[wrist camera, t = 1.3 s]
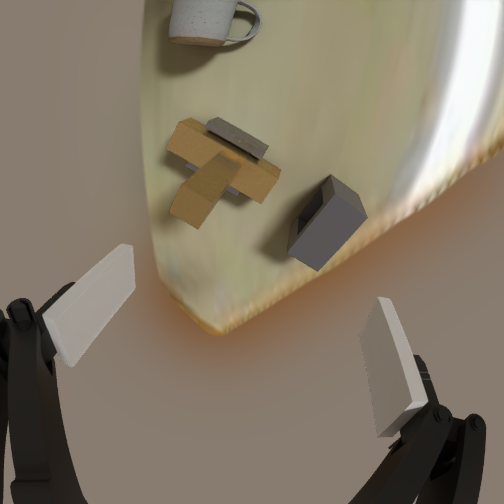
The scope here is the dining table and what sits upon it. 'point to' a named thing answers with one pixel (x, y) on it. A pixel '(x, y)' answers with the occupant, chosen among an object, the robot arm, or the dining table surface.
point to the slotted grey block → (325, 224)
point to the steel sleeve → (237, 138)
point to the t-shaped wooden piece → (215, 171)
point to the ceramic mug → (207, 22)
